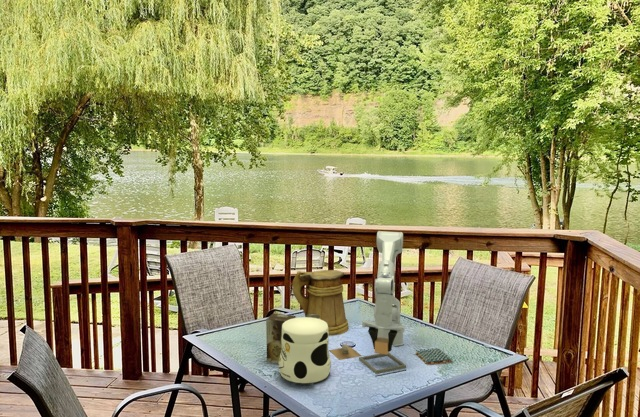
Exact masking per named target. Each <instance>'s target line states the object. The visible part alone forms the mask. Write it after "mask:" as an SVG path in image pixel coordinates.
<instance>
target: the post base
mask: <svg viewBox="0 0 640 417" xmlns="http://www.w3.org/2000/svg"><path fill="white" fill-rule="evenodd" d="M328 351H329V353H331V354H332V355H334V357H335V358H337V359H338V360H339V361H342V360H346V359H352V358H353V359H354V358H359V357H362V355H361V354H360V353H359V352H357V350H355V349H354V348H353V347H352V346H349V345H348V344H342V345H341V348H334V349H328Z"/></svg>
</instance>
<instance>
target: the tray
mask: <svg viewBox="0 0 640 417" xmlns="http://www.w3.org/2000/svg"><path fill="white" fill-rule="evenodd" d="M382 357H389V359H391V360H392V361H394V362H395V363H396V364H398V365H396V366H390V367H385V368H379V369H376V368H375V367H374V366H373V365H371V364H370V363H369V362H368V361H366V360H373V359H377V358H382ZM358 361H360V363H362V364H363V365H364V366H366V367H367V368H368V369H369V370H371V372H373V373H374V374H375V375H374V377H382V376H386V375H391V374H396V373H402V372H406V371H407V365H406V364H405V363H404V362H402V361H401V360H400V359H398V358H397V357H396V356H394V355H393V354H391V353H390V352H389V353H388V355H385V354H379V353H374V354H370V355H365V356H359V357H358ZM403 369H404V370H403Z"/></svg>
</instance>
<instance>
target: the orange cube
mask: <svg viewBox="0 0 640 417" xmlns="http://www.w3.org/2000/svg"><path fill="white" fill-rule="evenodd" d="M388 345H389V339H387V338H381V337H378V338H377V339H376V341H375V349H374V354H385V355H388V353H390V352H389V351H388Z"/></svg>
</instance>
